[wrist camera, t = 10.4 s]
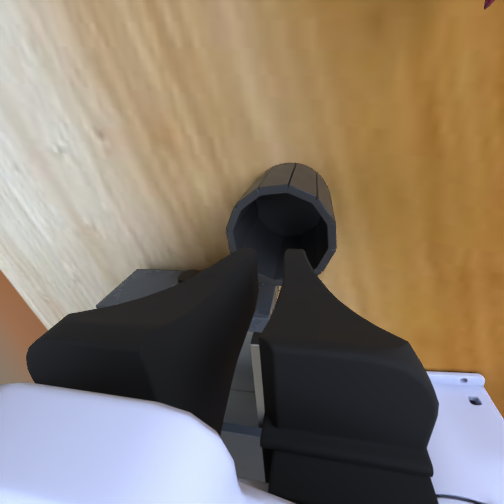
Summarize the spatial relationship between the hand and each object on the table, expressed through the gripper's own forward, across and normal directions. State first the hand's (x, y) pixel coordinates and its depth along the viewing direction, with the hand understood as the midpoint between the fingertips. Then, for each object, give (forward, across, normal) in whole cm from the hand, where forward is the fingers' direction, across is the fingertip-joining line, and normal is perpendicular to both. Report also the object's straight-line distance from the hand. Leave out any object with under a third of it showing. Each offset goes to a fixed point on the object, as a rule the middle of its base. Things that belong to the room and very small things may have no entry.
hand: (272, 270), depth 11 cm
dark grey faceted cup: (+9, 0, 0) cm, 9 cm away
